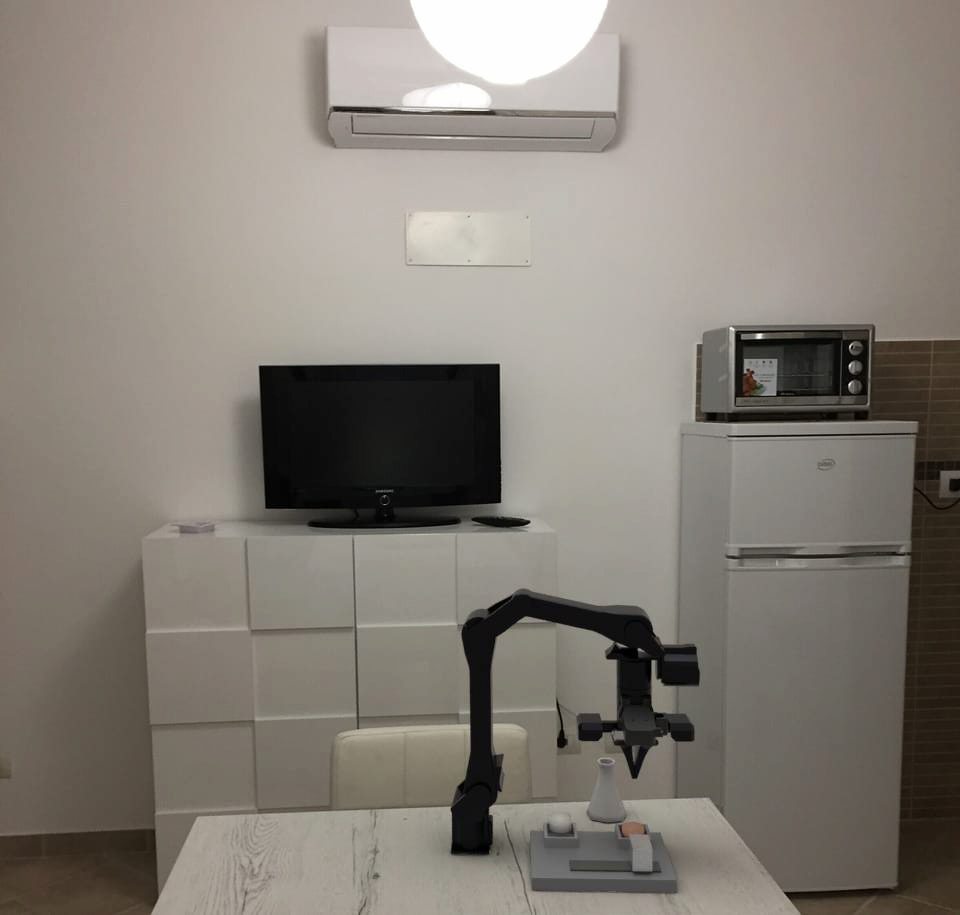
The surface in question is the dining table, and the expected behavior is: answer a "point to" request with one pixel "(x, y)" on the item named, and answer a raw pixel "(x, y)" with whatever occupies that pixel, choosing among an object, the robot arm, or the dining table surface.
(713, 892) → the dining table surface
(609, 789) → the flask
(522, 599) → the robot arm
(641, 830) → the terracotta button
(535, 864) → the panel
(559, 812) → the grey button
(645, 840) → the rough gray brick
